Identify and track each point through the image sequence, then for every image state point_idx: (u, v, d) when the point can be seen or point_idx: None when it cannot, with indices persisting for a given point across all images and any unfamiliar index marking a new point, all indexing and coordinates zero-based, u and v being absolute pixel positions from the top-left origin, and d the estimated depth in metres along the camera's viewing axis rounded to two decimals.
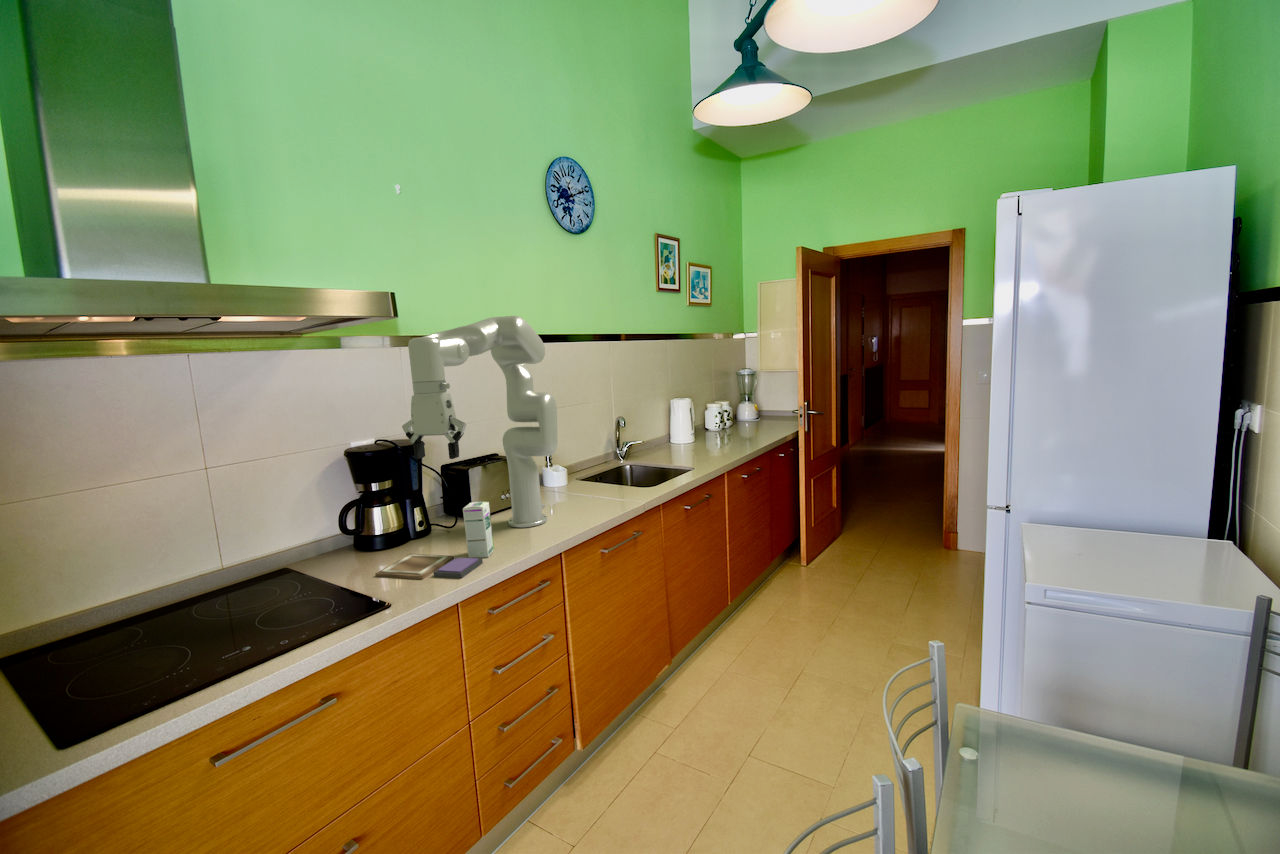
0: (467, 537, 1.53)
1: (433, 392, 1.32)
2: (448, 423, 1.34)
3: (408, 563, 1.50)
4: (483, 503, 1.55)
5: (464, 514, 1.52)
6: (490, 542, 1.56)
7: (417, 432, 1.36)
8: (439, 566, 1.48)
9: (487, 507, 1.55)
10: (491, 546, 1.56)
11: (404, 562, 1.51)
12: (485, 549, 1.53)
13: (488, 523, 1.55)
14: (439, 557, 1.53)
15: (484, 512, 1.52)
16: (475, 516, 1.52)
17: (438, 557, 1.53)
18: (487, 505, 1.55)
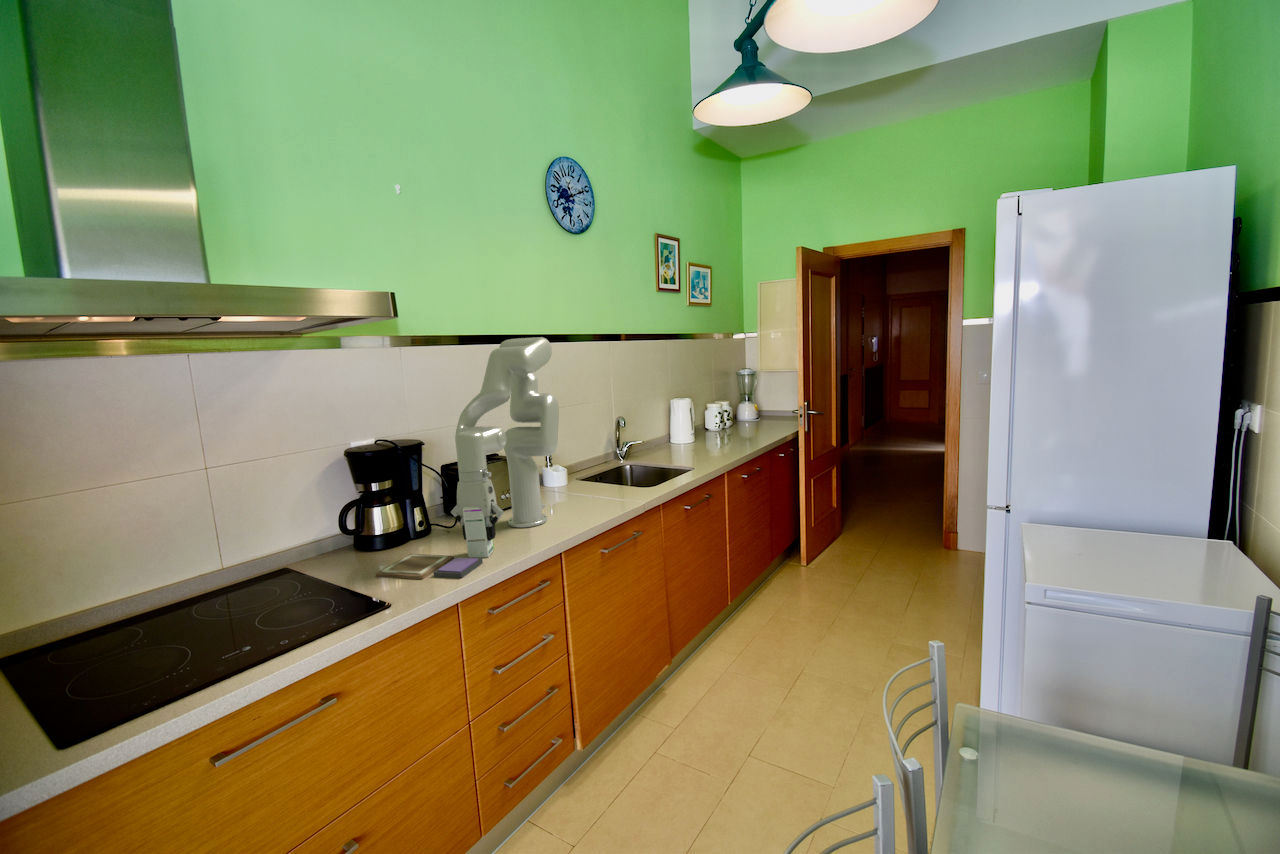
0: (467, 537, 1.53)
1: (477, 481, 1.50)
2: (490, 507, 1.52)
3: (408, 563, 1.50)
4: None
5: (464, 514, 1.52)
6: (490, 542, 1.56)
7: (462, 514, 1.53)
8: (439, 566, 1.48)
9: None
10: (491, 546, 1.56)
11: (404, 562, 1.51)
12: (485, 549, 1.53)
13: None
14: (439, 557, 1.53)
15: None
16: (475, 516, 1.52)
17: (438, 557, 1.53)
18: None
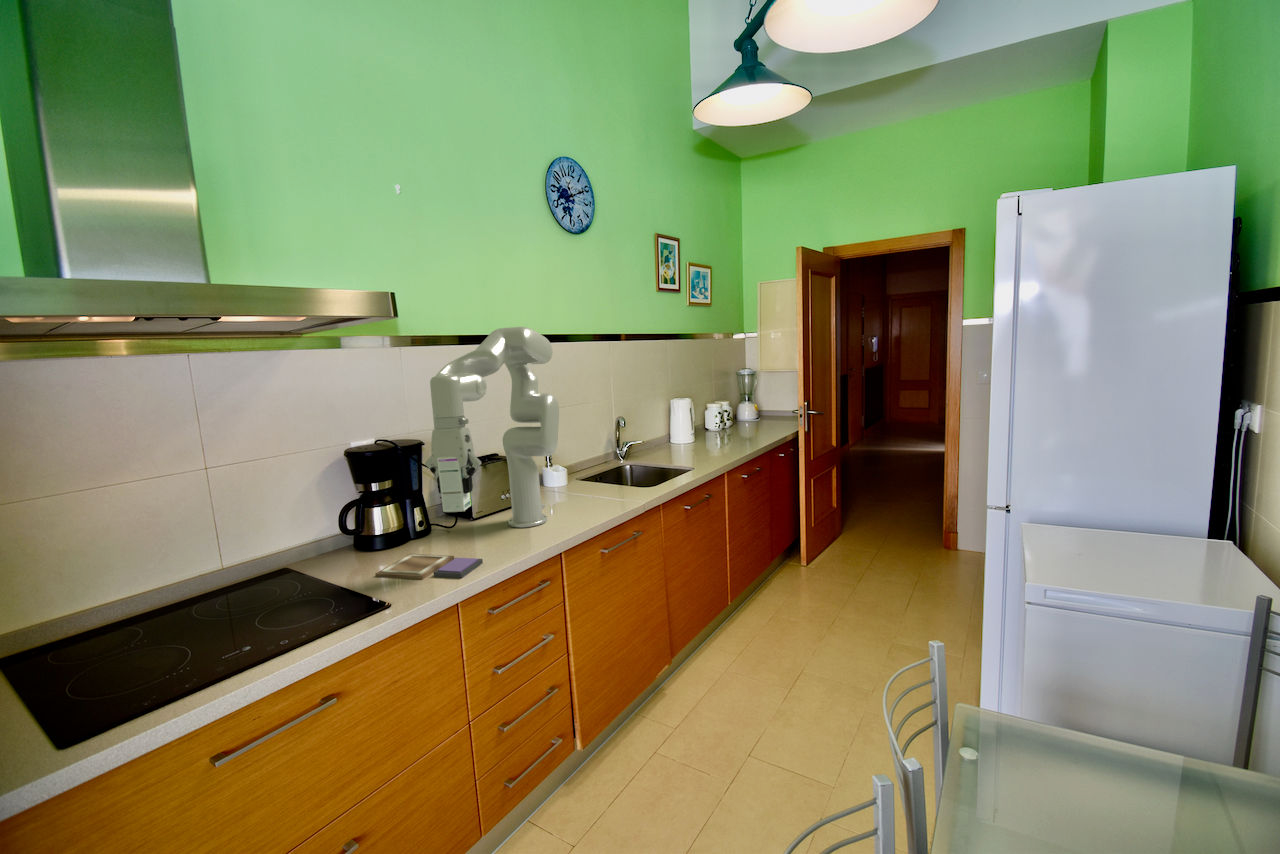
0: (442, 489, 1.42)
1: (453, 427, 1.40)
2: (467, 456, 1.41)
3: (408, 563, 1.50)
4: None
5: (439, 464, 1.41)
6: (467, 496, 1.45)
7: (437, 465, 1.43)
8: (439, 566, 1.48)
9: None
10: (468, 500, 1.46)
11: (404, 562, 1.51)
12: (461, 502, 1.42)
13: None
14: (439, 557, 1.53)
15: None
16: (450, 466, 1.41)
17: (438, 557, 1.53)
18: None
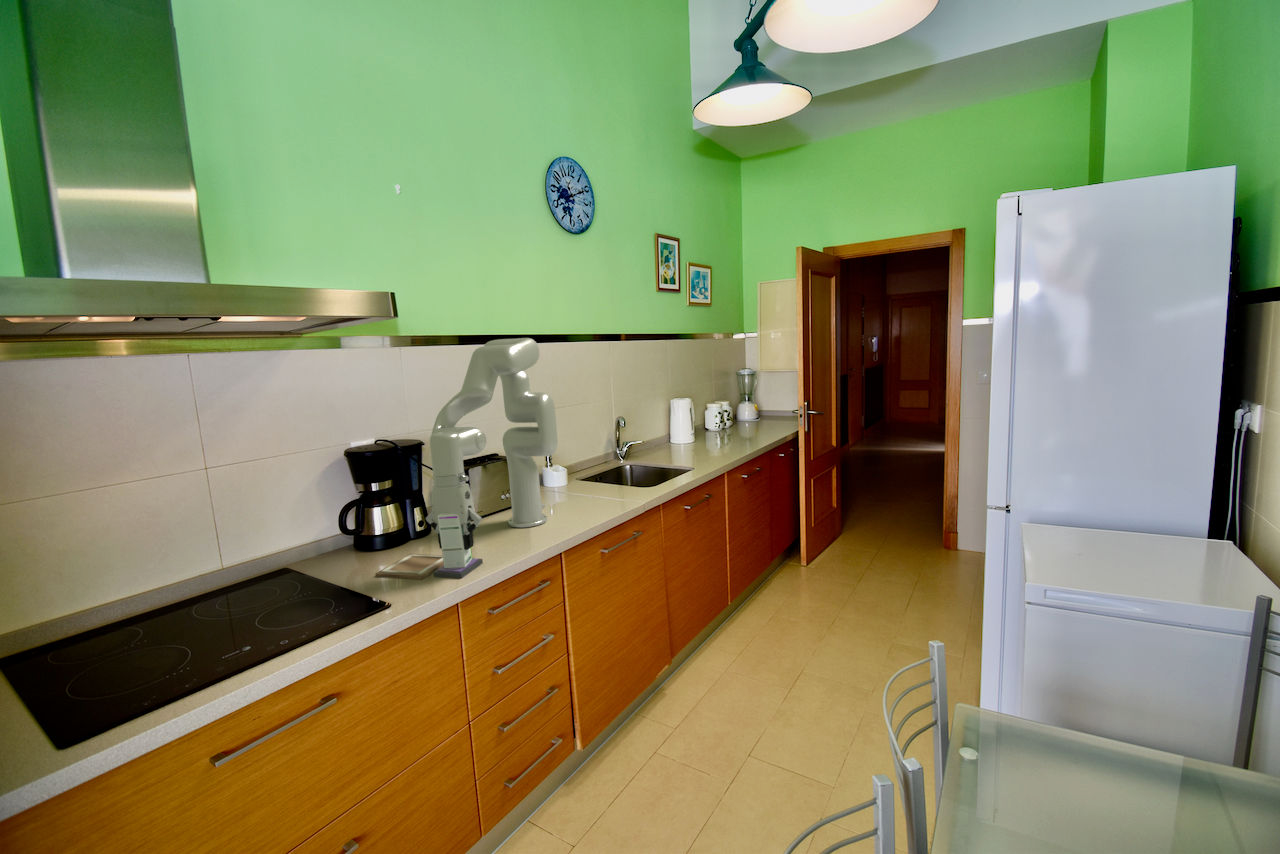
0: (442, 546, 1.42)
1: (453, 485, 1.39)
2: (467, 514, 1.41)
3: (408, 563, 1.50)
4: None
5: (439, 522, 1.41)
6: (468, 551, 1.45)
7: (437, 521, 1.43)
8: (439, 566, 1.48)
9: None
10: (469, 555, 1.46)
11: (404, 562, 1.51)
12: (462, 559, 1.42)
13: None
14: (439, 557, 1.53)
15: None
16: (451, 523, 1.41)
17: (438, 557, 1.53)
18: None
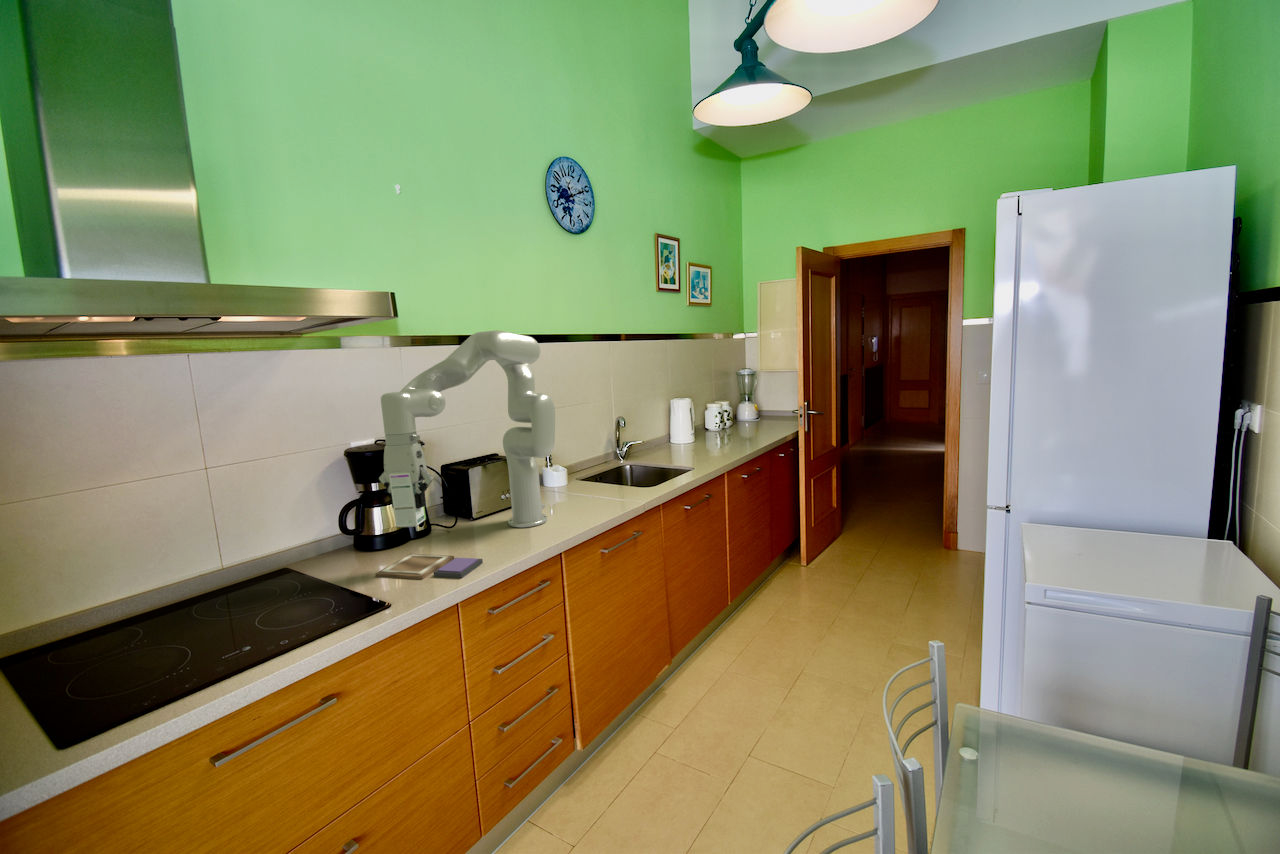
0: (394, 505, 1.44)
1: (404, 444, 1.41)
2: (418, 472, 1.43)
3: (408, 563, 1.50)
4: None
5: (390, 480, 1.43)
6: (421, 510, 1.47)
7: None
8: (439, 566, 1.48)
9: None
10: (421, 515, 1.47)
11: (404, 562, 1.51)
12: (414, 517, 1.44)
13: None
14: (439, 557, 1.53)
15: None
16: (402, 482, 1.43)
17: (438, 557, 1.53)
18: None
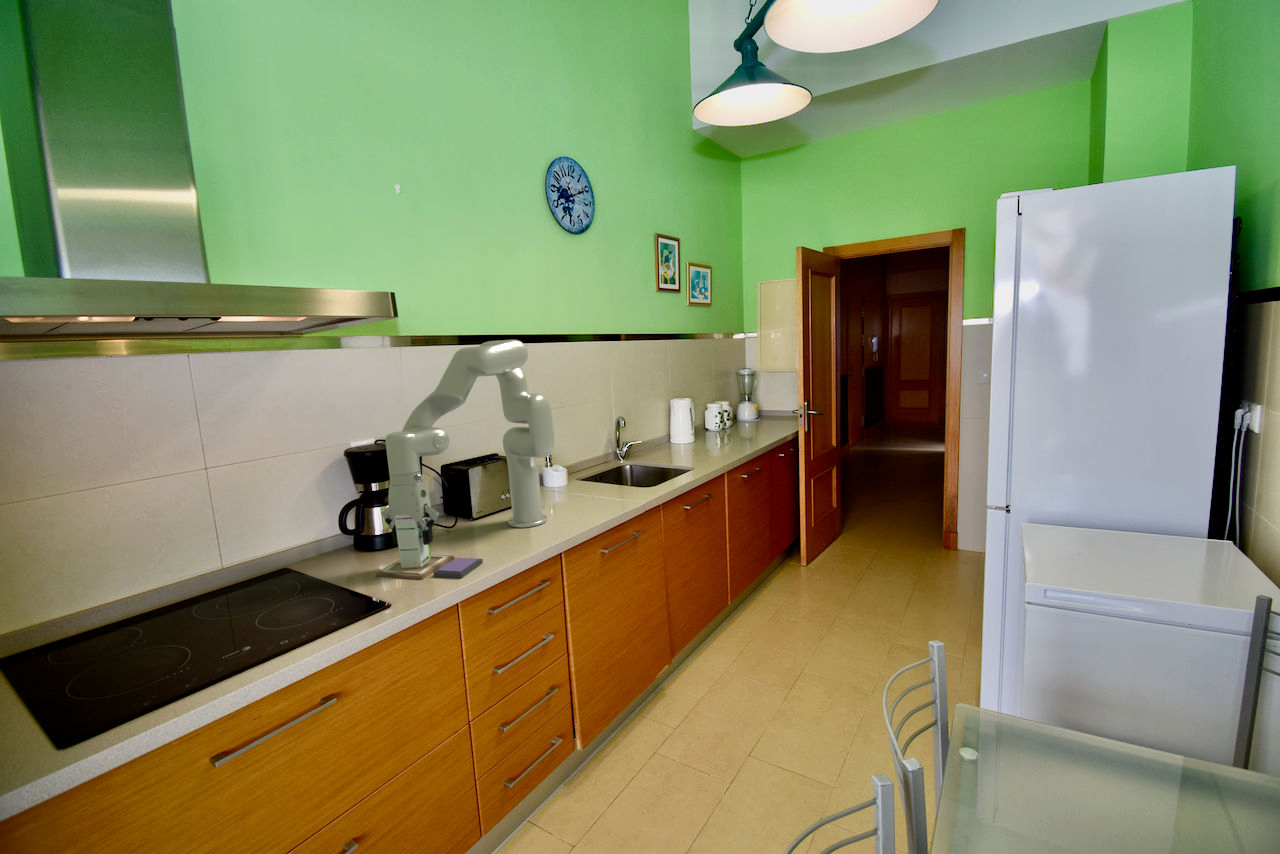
0: (399, 546, 1.46)
1: (408, 484, 1.43)
2: (423, 511, 1.44)
3: None
4: None
5: (396, 522, 1.45)
6: (425, 551, 1.49)
7: (394, 519, 1.46)
8: (439, 566, 1.48)
9: None
10: (426, 555, 1.49)
11: None
12: (418, 559, 1.46)
13: None
14: (439, 557, 1.53)
15: None
16: (407, 524, 1.45)
17: (438, 557, 1.53)
18: None
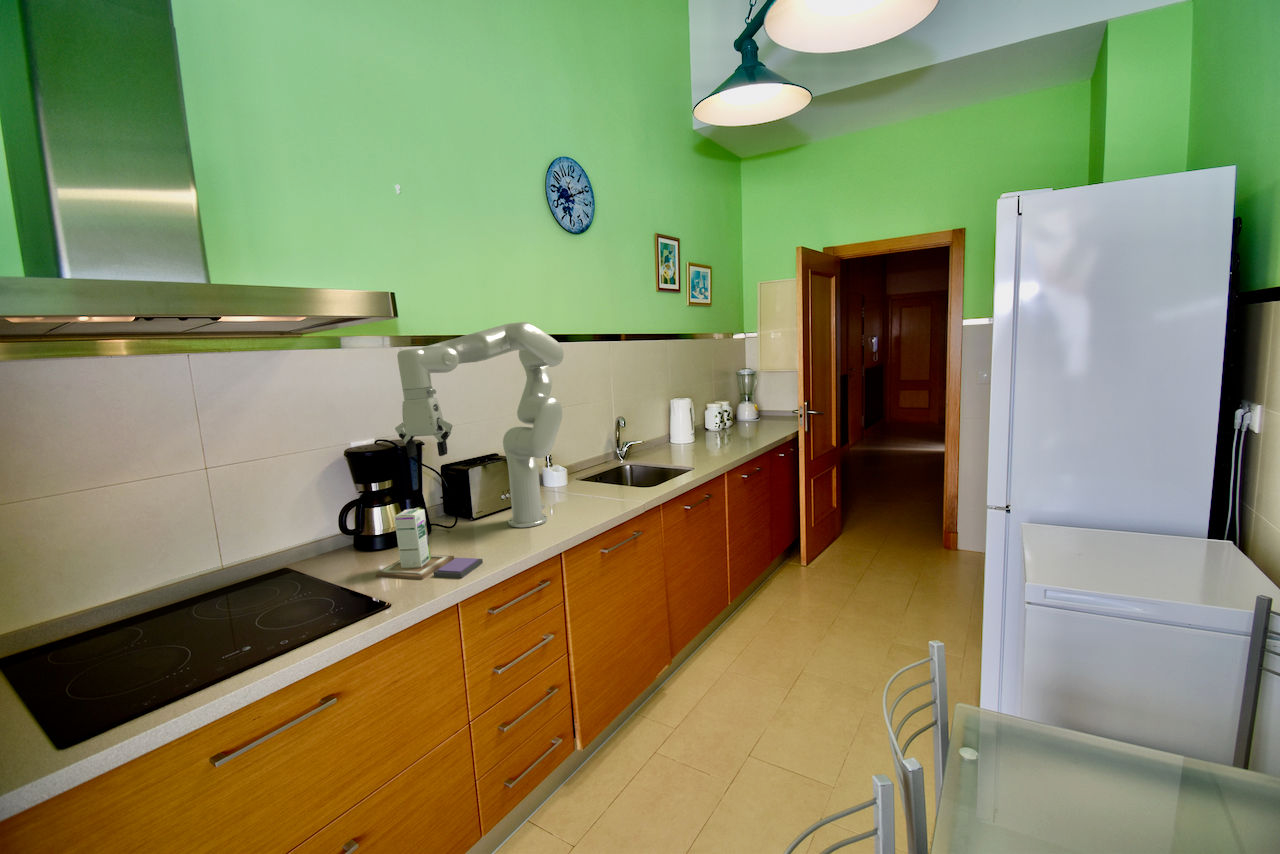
0: (399, 546, 1.46)
1: (421, 398, 1.49)
2: (436, 424, 1.51)
3: None
4: (417, 511, 1.48)
5: (396, 522, 1.45)
6: (425, 551, 1.49)
7: (409, 433, 1.53)
8: (439, 566, 1.48)
9: (422, 515, 1.48)
10: (426, 555, 1.49)
11: None
12: (418, 559, 1.46)
13: (423, 531, 1.48)
14: (439, 557, 1.53)
15: (416, 520, 1.45)
16: (407, 524, 1.45)
17: (438, 557, 1.53)
18: (422, 513, 1.48)
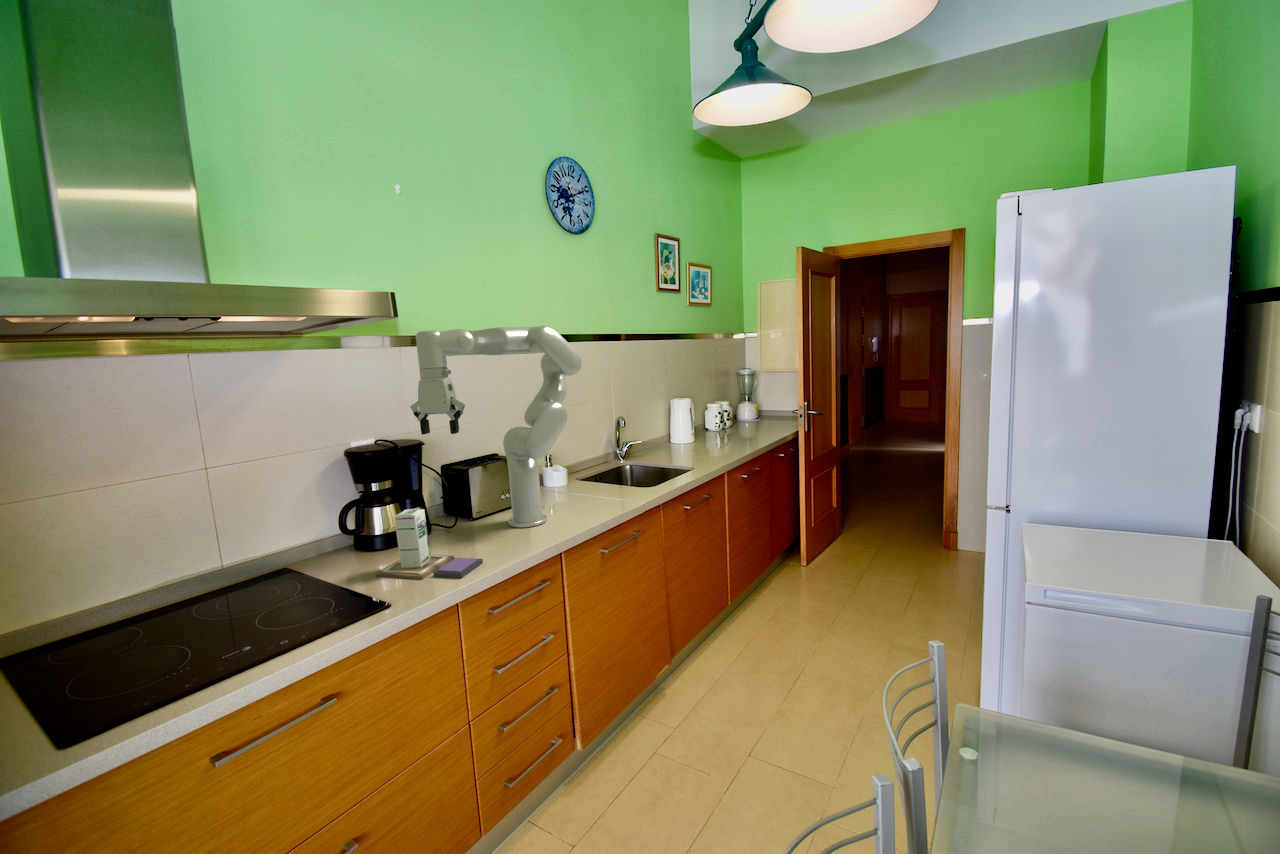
0: (399, 546, 1.46)
1: (437, 377, 1.57)
2: (449, 403, 1.58)
3: None
4: (417, 511, 1.48)
5: (396, 522, 1.45)
6: (425, 551, 1.49)
7: (423, 411, 1.60)
8: (439, 566, 1.48)
9: (422, 515, 1.48)
10: (426, 555, 1.49)
11: None
12: (418, 559, 1.46)
13: (423, 531, 1.48)
14: (439, 557, 1.53)
15: (416, 520, 1.45)
16: (407, 524, 1.45)
17: (438, 557, 1.53)
18: (422, 513, 1.48)
